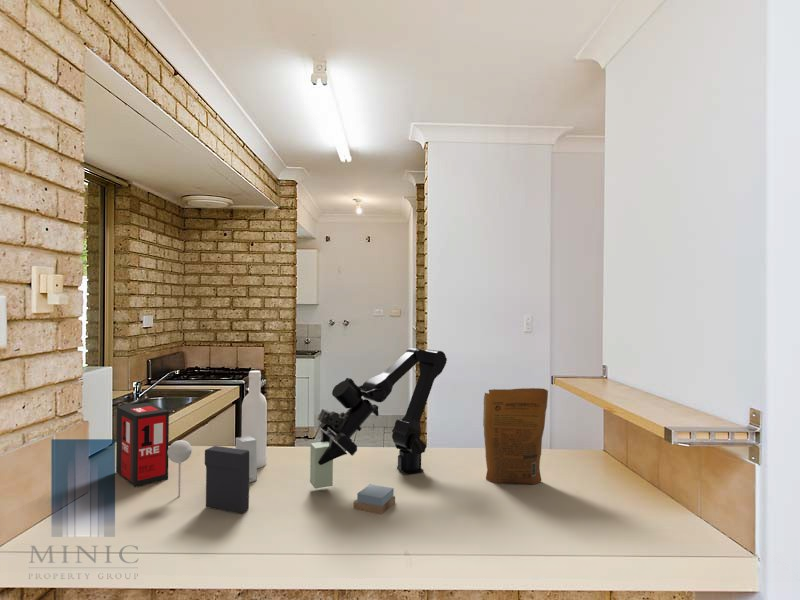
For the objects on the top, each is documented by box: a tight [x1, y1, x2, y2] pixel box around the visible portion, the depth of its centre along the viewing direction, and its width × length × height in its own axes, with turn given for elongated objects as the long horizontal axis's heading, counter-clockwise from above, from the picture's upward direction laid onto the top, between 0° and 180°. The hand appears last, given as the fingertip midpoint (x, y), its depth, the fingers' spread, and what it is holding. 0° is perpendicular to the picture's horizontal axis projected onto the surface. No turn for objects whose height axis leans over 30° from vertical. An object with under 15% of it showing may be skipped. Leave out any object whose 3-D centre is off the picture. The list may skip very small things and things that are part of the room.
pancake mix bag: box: [482, 387, 549, 485], centre depth 145 cm, size 7×19×28 cm, turn 87°
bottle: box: [241, 370, 268, 469], centre depth 157 cm, size 8×8×30 cm
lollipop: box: [167, 439, 193, 498], centre depth 132 cm, size 6×6×15 cm
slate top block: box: [356, 483, 395, 507], centre depth 128 cm, size 7×7×2 cm
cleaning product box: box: [115, 402, 170, 488], centre depth 147 cm, size 16×9×20 cm, turn 46°
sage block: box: [309, 441, 334, 490], centre depth 137 cm, size 5×5×11 cm
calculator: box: [204, 445, 250, 515], centre depth 125 cm, size 11×4×15 cm, turn 71°
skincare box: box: [235, 436, 258, 483], centre depth 145 cm, size 6×4×12 cm
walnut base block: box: [352, 495, 396, 515], centre depth 128 cm, size 8×8×2 cm
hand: (316, 461), depth 136 cm, fingers closed on sage block, 5 cm apart
